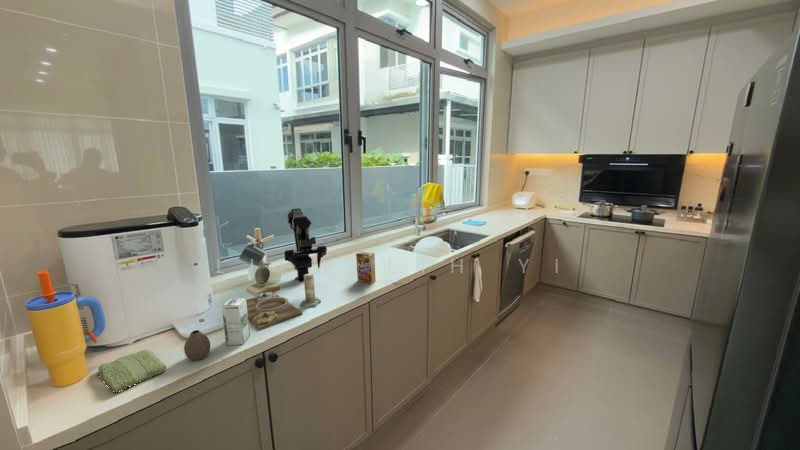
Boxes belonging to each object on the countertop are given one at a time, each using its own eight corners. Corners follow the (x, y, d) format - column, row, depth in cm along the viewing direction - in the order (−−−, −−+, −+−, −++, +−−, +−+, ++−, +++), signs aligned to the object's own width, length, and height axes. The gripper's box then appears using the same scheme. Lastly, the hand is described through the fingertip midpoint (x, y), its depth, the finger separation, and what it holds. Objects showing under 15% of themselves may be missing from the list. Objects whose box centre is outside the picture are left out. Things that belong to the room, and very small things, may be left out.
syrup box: (233, 336, 109) (228, 298, 106) (250, 335, 109) (246, 297, 106) (226, 346, 103) (220, 305, 100) (244, 344, 104) (239, 304, 101)
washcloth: (149, 352, 101) (147, 343, 101) (169, 372, 91) (167, 362, 90) (95, 374, 91) (92, 364, 90) (110, 399, 81) (108, 388, 80)
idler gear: (298, 303, 135) (295, 275, 132) (314, 297, 140) (312, 270, 137) (307, 309, 129) (304, 280, 126) (323, 303, 134) (321, 275, 131)
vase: (216, 352, 99) (213, 328, 98) (196, 365, 93) (192, 339, 91) (201, 349, 102) (197, 324, 100) (180, 361, 95) (176, 335, 94)
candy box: (356, 281, 159) (355, 253, 156) (361, 278, 163) (360, 251, 160) (371, 284, 155) (370, 255, 152) (375, 281, 159) (374, 252, 156)
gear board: (234, 305, 134) (233, 298, 133) (273, 293, 145) (272, 287, 145) (258, 330, 113) (258, 322, 112) (302, 314, 124) (301, 307, 124)
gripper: (282, 233, 136) (287, 265, 129) (325, 229, 143) (331, 259, 137) (282, 245, 145) (286, 275, 138) (322, 240, 152) (328, 269, 146)
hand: (308, 269), depth 139 cm, fingers open, 9 cm apart
